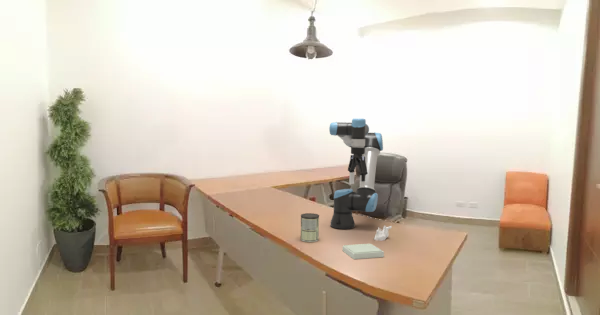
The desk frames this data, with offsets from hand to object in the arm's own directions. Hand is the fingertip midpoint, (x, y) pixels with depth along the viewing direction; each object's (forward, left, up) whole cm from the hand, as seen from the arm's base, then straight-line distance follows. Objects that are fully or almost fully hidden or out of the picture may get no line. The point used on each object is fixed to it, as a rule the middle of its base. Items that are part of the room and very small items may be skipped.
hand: (356, 185), depth 220 cm
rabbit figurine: (+1, +17, -32) cm, 36 cm away
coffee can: (-11, -23, -32) cm, 41 cm away
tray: (+20, -5, -32) cm, 38 cm away
